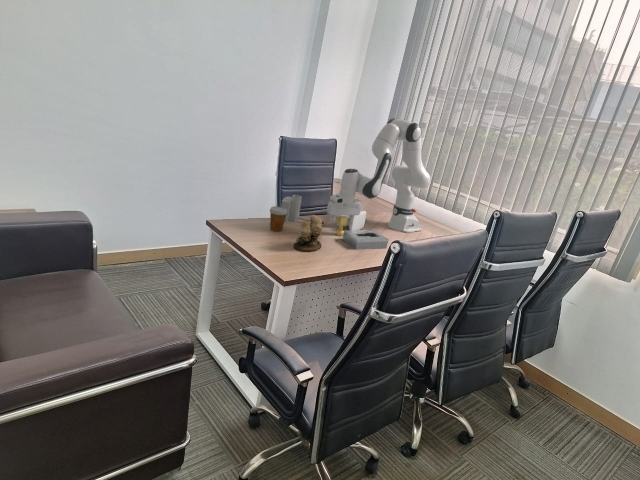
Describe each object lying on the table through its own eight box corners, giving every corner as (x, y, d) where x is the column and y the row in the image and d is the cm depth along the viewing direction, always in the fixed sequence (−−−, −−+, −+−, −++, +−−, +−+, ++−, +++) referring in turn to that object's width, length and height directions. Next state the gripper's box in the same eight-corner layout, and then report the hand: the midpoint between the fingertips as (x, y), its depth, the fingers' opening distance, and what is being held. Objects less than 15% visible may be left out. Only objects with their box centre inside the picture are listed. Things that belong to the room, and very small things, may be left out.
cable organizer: (350, 233, 235) (354, 214, 231) (335, 227, 240) (339, 209, 236) (363, 229, 246) (367, 211, 242) (349, 223, 252) (353, 206, 248)
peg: (340, 233, 232) (344, 216, 228) (344, 236, 228) (348, 218, 225) (334, 233, 230) (337, 216, 226) (337, 236, 226) (341, 218, 223)
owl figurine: (308, 239, 214) (313, 208, 208) (326, 246, 209) (332, 215, 203) (287, 246, 199) (293, 214, 194) (307, 254, 194) (313, 221, 188)
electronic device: (283, 215, 246) (286, 191, 241) (324, 223, 244) (328, 199, 239) (278, 220, 235) (281, 195, 230) (321, 229, 232) (325, 204, 227)
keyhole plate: (372, 238, 232) (374, 230, 230) (386, 248, 220) (388, 239, 219) (342, 239, 222) (344, 230, 221) (355, 249, 211) (357, 240, 209)
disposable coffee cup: (288, 230, 222) (290, 209, 218) (279, 234, 214) (282, 212, 210) (273, 225, 226) (275, 205, 221) (264, 229, 217) (266, 208, 213)
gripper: (359, 197, 229) (354, 220, 234) (327, 196, 220) (323, 220, 224) (365, 200, 224) (360, 224, 229) (333, 199, 214) (328, 224, 219)
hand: (341, 222), depth 226 cm, fingers open, 8 cm apart
